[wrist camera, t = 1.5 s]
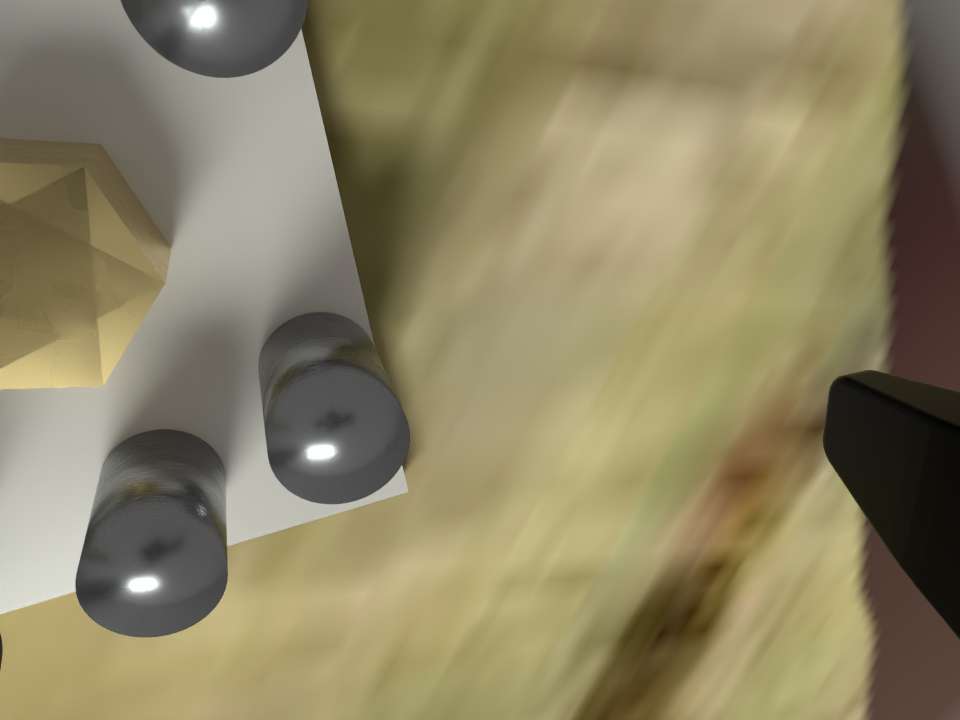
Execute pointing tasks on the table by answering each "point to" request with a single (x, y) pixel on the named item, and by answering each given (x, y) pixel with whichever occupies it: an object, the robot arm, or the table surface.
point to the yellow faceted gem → (71, 264)
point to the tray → (172, 272)
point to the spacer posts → (283, 385)
